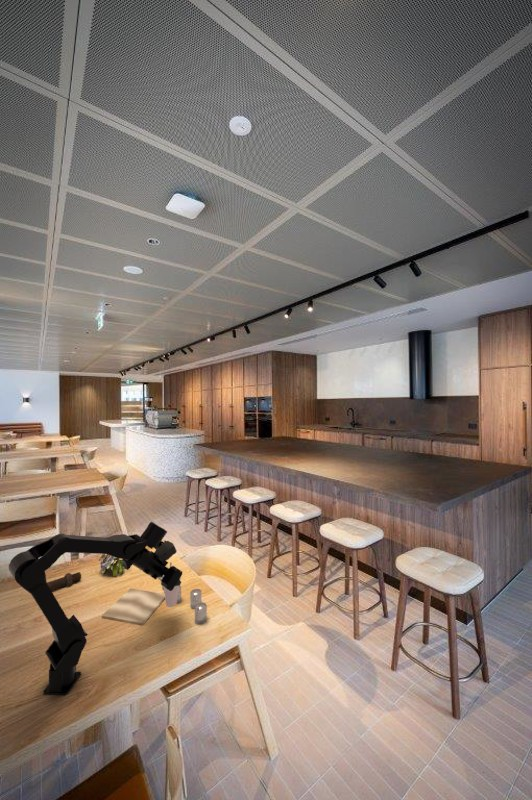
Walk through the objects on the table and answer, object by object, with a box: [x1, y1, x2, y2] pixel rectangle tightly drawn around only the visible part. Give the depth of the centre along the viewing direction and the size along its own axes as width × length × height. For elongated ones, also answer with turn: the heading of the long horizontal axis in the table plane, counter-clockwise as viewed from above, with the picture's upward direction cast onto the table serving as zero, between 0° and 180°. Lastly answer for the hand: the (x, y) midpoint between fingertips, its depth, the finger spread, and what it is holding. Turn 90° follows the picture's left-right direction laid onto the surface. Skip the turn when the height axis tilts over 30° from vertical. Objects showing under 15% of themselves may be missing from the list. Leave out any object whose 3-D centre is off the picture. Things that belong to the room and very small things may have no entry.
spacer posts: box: [176, 584, 208, 625], centre depth 118 cm, size 8×19×5 cm, turn 48°
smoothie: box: [162, 561, 182, 608], centre depth 112 cm, size 6×6×14 cm
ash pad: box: [101, 588, 165, 626], centre depth 119 cm, size 16×16×1 cm
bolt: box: [47, 571, 82, 591], centre depth 130 cm, size 6×5×15 cm
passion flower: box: [98, 554, 125, 578], centre depth 142 cm, size 11×11×12 cm
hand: (175, 580), depth 113 cm, fingers closed on smoothie, 6 cm apart
